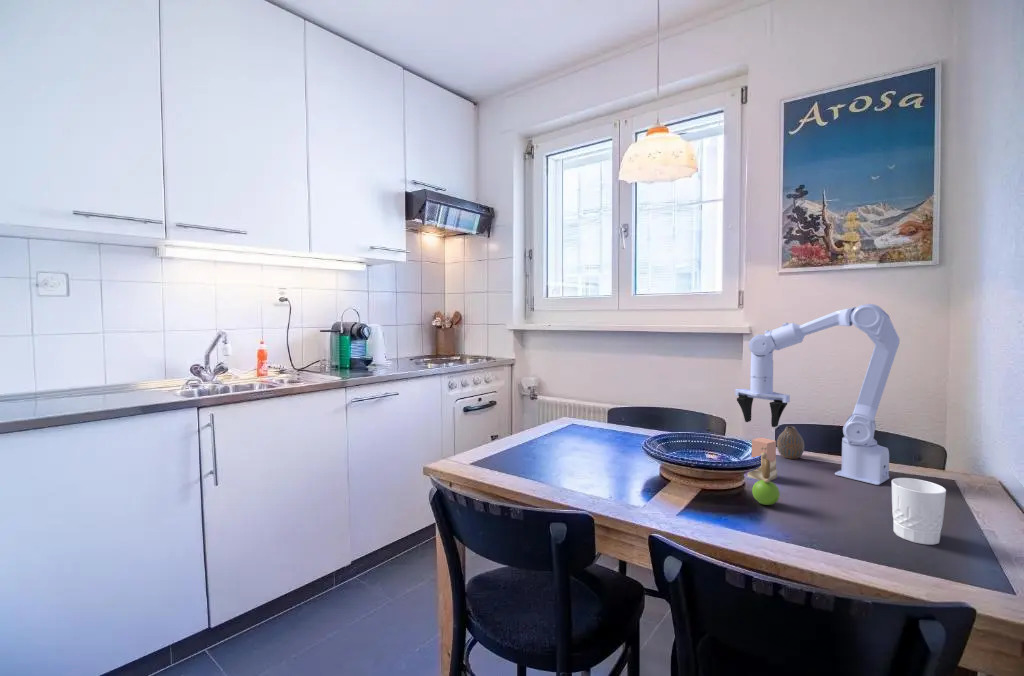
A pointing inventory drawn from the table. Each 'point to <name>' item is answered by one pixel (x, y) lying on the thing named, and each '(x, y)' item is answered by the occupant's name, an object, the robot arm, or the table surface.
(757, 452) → the block
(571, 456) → the table surface
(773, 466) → the tower top
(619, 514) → the table surface
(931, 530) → the white cup
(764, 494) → the snail figurine
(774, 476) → the tower base
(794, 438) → the vase
